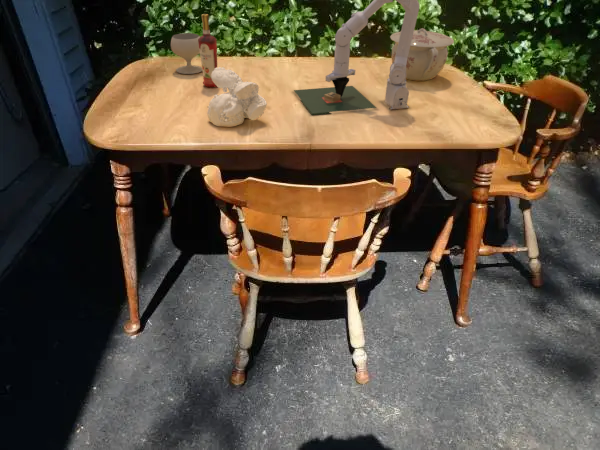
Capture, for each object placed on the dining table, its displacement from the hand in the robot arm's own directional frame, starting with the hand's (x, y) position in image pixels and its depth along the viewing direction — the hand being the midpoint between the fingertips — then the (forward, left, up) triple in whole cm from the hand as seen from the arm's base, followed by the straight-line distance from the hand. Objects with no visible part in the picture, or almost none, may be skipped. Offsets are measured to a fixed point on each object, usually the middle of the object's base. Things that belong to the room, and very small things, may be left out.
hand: (339, 95), depth 188 cm
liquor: (+27, +48, -2) cm, 55 cm away
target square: (-2, +4, -2) cm, 4 cm away
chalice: (+50, +55, -2) cm, 74 cm away
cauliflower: (-12, +43, -2) cm, 44 cm away
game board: (-1, +3, -2) cm, 3 cm away
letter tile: (-2, +4, -1) cm, 4 cm away
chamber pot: (+20, -44, -2) cm, 49 cm away
